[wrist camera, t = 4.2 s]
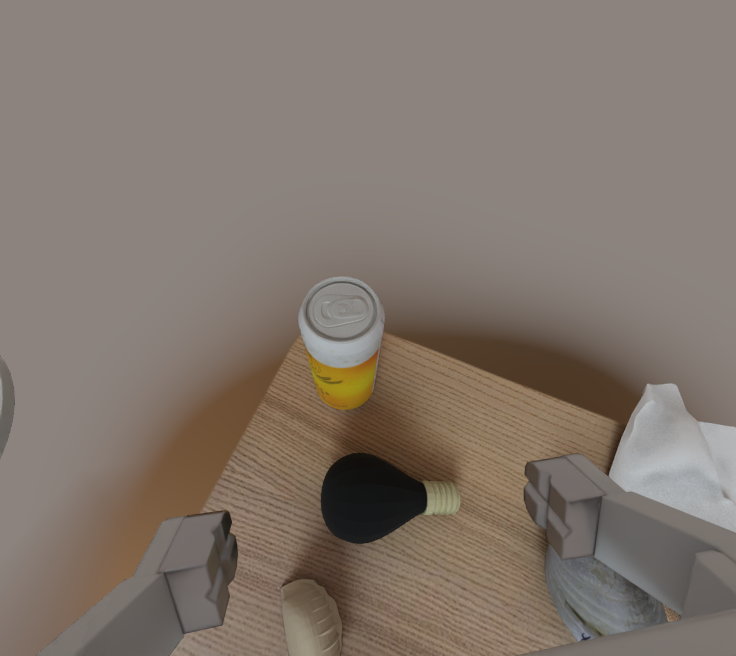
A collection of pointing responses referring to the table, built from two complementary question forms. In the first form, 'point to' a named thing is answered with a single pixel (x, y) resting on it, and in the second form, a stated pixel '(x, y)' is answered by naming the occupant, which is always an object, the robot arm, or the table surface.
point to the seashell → (598, 598)
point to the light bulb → (378, 498)
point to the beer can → (342, 339)
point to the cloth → (678, 458)
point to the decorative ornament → (310, 620)
